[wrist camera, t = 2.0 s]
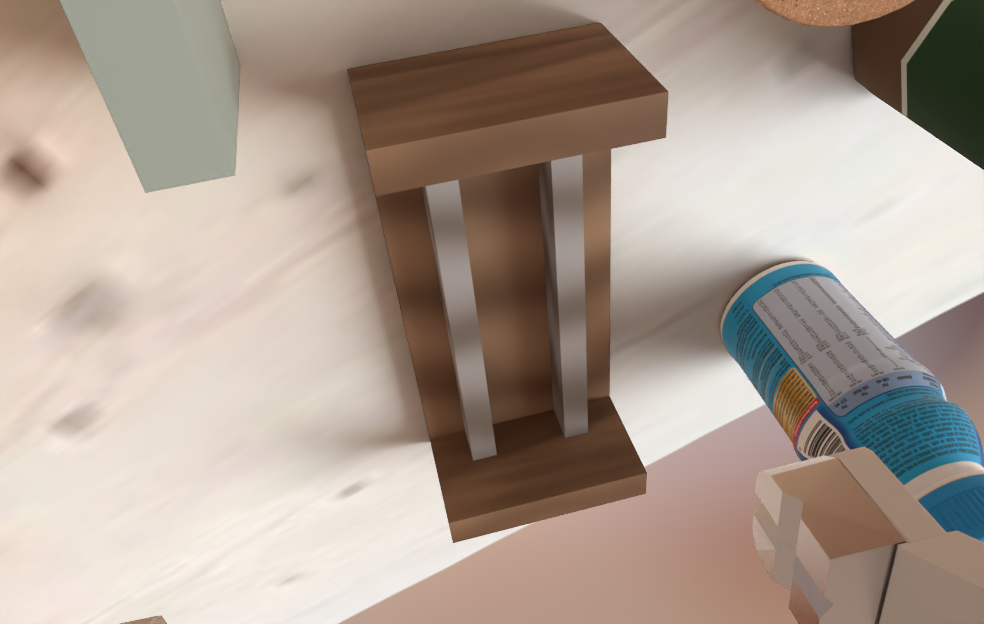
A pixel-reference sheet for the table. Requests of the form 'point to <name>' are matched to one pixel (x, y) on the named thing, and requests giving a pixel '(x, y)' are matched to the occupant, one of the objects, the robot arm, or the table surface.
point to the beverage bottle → (854, 388)
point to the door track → (510, 261)
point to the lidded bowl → (832, 10)
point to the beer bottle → (929, 68)
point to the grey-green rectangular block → (165, 84)
